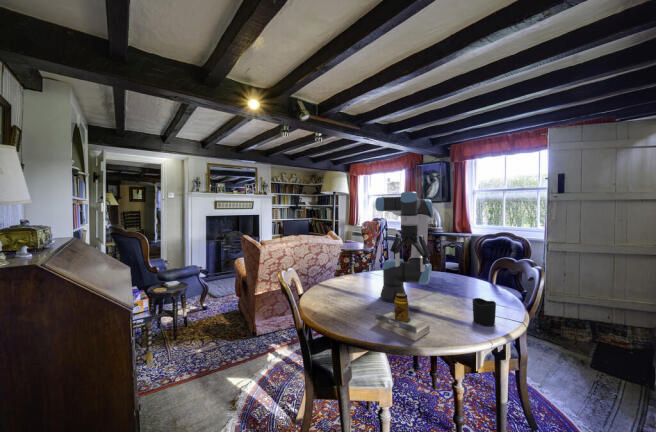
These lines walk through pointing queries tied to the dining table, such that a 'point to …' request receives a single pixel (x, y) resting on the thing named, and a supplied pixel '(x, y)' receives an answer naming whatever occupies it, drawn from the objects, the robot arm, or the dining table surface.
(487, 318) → the pen holder
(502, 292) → the dining table surface
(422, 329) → the cream flat block
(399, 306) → the condiment
